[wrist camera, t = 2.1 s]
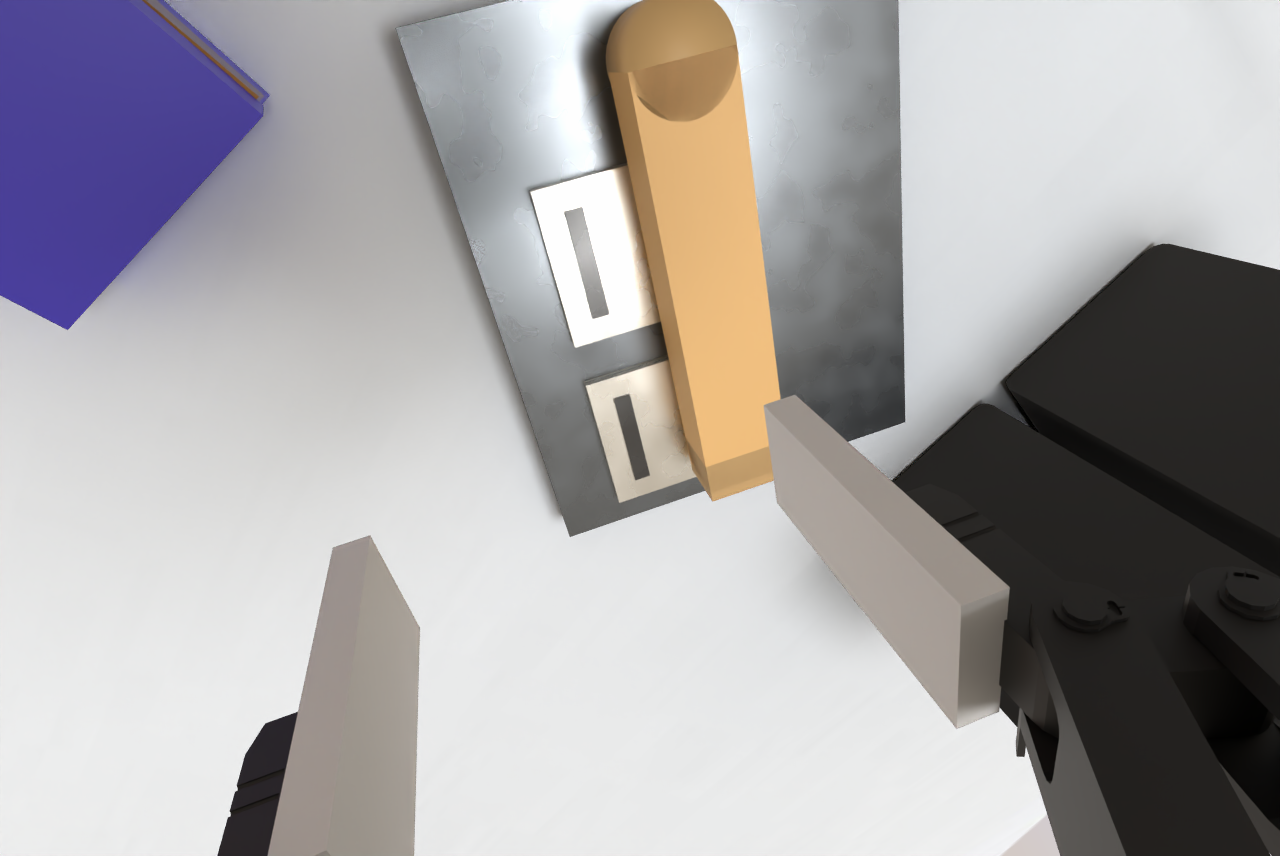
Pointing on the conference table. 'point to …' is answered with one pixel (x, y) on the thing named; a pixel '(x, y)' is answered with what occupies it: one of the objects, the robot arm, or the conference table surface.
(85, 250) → the stapler
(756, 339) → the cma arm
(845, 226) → the server board
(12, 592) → the conference table surface
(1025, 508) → the speaker
